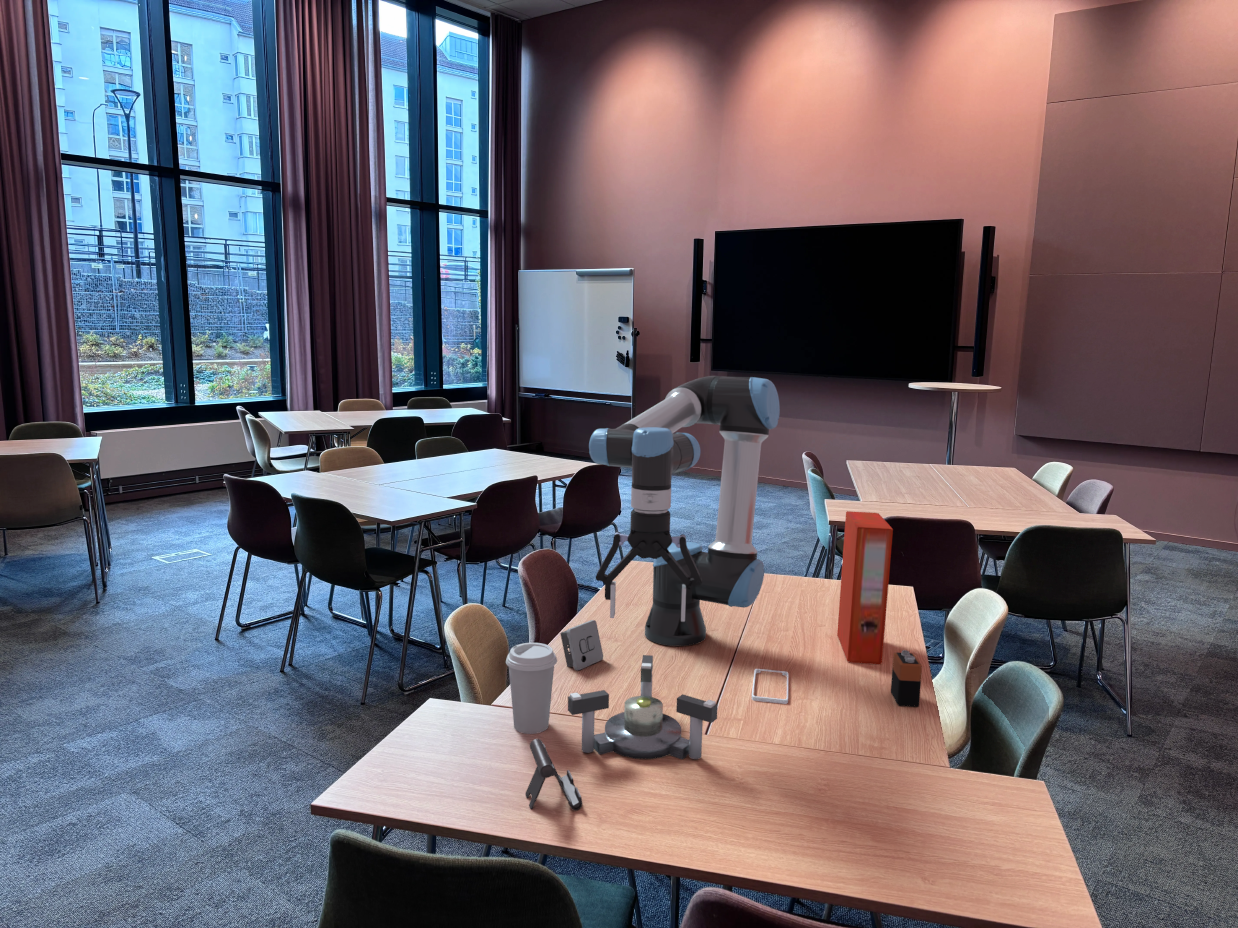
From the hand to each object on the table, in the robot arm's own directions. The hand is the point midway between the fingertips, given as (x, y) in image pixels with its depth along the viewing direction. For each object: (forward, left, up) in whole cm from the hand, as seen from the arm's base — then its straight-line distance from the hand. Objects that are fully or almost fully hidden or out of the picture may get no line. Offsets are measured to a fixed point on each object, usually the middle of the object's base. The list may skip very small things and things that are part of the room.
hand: (647, 617), depth 160 cm
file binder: (-60, +22, -20) cm, 67 cm away
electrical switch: (-13, -26, -20) cm, 35 cm away
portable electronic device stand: (+34, +4, -20) cm, 40 cm away
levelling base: (+9, +7, -20) cm, 23 cm away
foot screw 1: (+19, 0, -20) cm, 27 cm away
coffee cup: (+17, -15, -20) cm, 30 cm away
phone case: (-27, +14, -20) cm, 37 cm away
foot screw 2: (0, 0, -20) cm, 20 cm away
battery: (-38, +39, -20) cm, 58 cm away
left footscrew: (+9, +16, -20) cm, 27 cm away
